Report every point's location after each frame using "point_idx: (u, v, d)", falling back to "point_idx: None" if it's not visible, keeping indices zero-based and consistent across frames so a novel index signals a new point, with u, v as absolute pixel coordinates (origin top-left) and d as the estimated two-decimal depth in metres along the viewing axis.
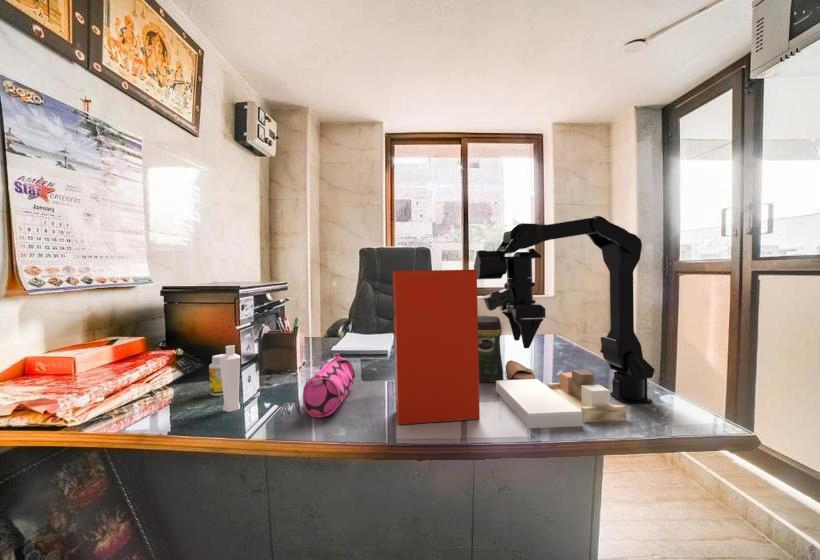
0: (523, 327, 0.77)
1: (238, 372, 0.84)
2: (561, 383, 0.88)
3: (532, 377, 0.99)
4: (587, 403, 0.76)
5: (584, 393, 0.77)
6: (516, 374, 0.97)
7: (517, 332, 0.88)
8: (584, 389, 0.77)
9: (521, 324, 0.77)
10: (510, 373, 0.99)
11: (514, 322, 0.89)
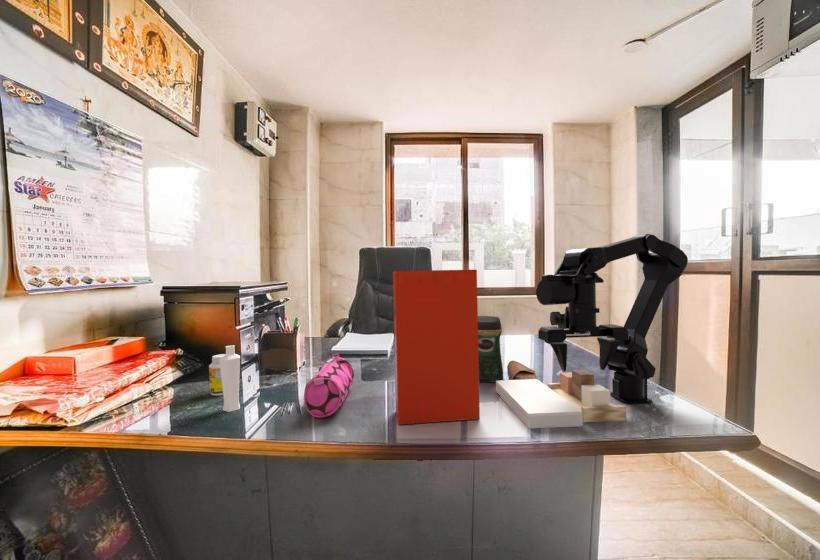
0: (554, 349, 0.82)
1: (238, 372, 0.84)
2: (561, 383, 0.88)
3: (534, 377, 0.99)
4: (587, 403, 0.76)
5: (584, 393, 0.77)
6: (518, 374, 0.97)
7: (602, 360, 0.82)
8: (584, 389, 0.77)
9: (552, 345, 0.83)
10: (512, 373, 0.99)
11: (602, 349, 0.82)
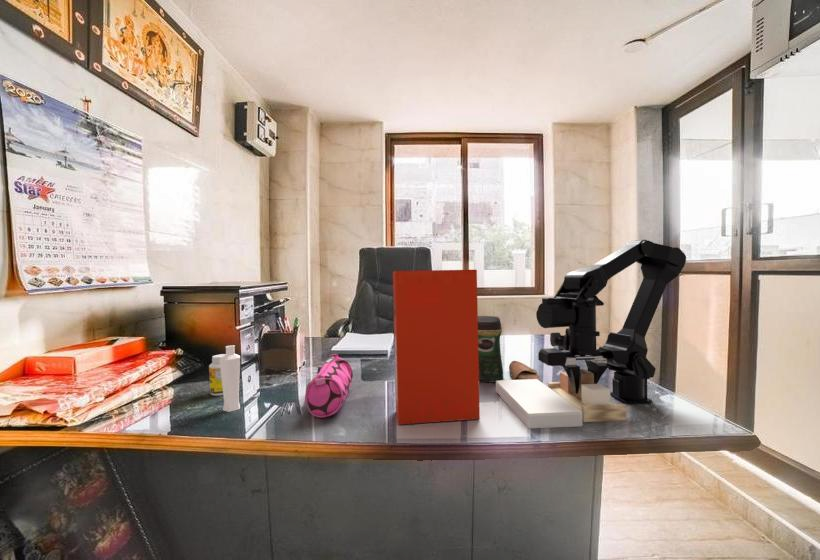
0: (566, 371, 0.82)
1: (238, 372, 0.84)
2: (561, 382, 0.88)
3: (536, 377, 0.99)
4: (587, 402, 0.76)
5: (584, 392, 0.77)
6: (520, 374, 0.97)
7: None
8: (584, 388, 0.77)
9: (564, 367, 0.83)
10: (514, 373, 0.99)
11: None
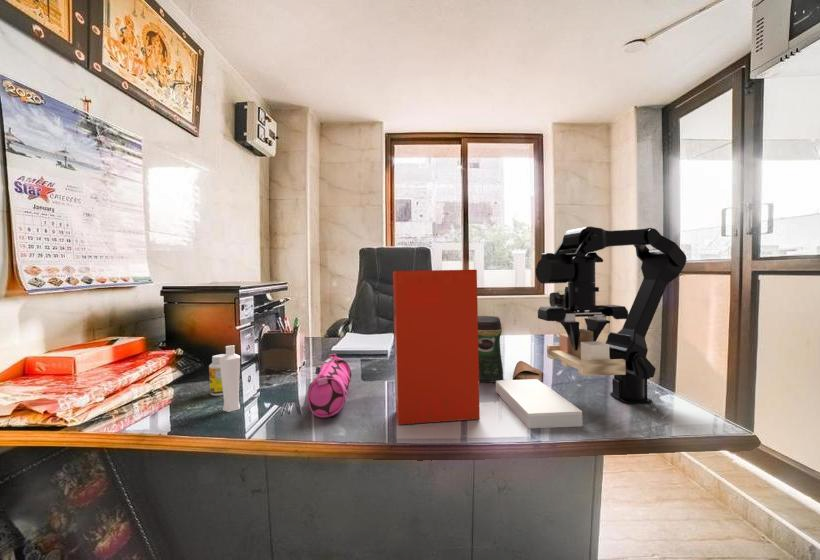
0: (566, 328, 0.82)
1: (238, 372, 0.84)
2: (560, 344, 0.88)
3: (538, 378, 0.98)
4: (586, 358, 0.76)
5: (583, 349, 0.77)
6: (520, 374, 0.97)
7: None
8: (583, 345, 0.77)
9: (563, 325, 0.83)
10: (515, 373, 0.99)
11: (589, 330, 0.82)
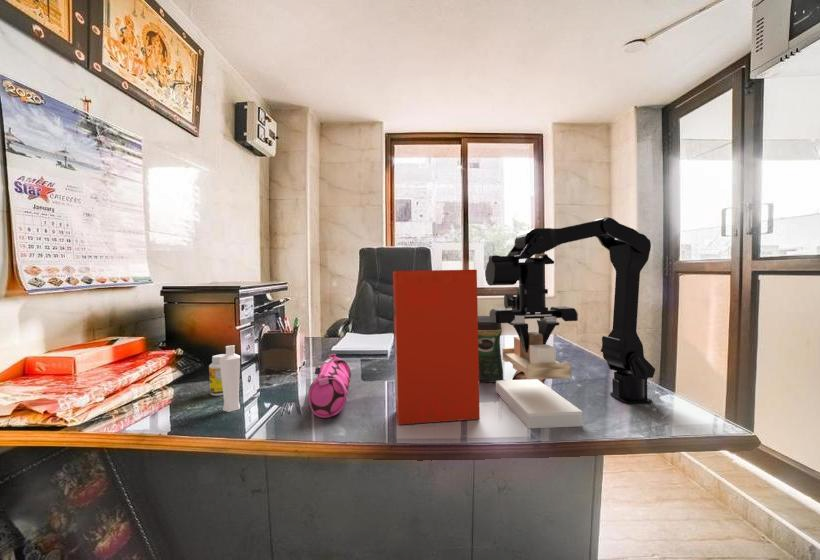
0: (517, 330, 0.82)
1: (238, 372, 0.84)
2: (515, 347, 0.88)
3: None
4: (534, 362, 0.76)
5: (531, 352, 0.77)
6: (520, 374, 0.97)
7: None
8: (531, 348, 0.77)
9: (514, 327, 0.83)
10: (515, 373, 0.99)
11: (540, 332, 0.82)
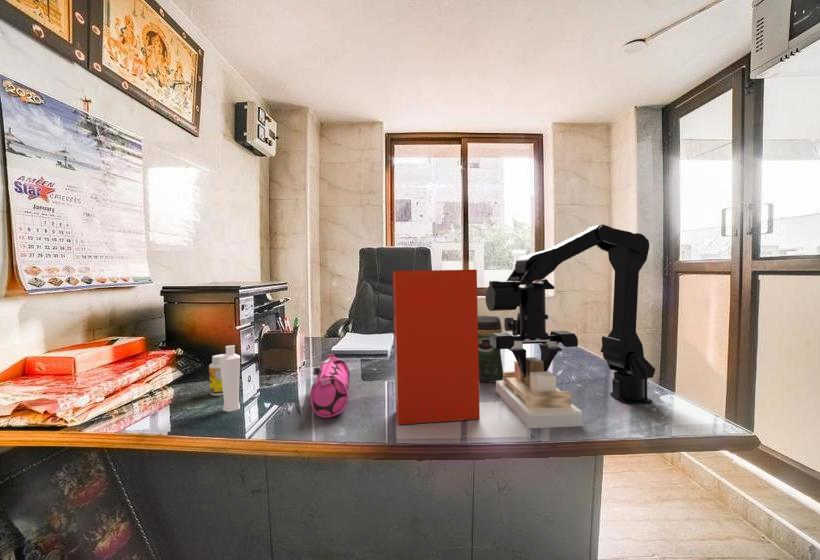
0: (515, 355, 0.82)
1: (238, 372, 0.84)
2: (515, 371, 0.88)
3: None
4: (534, 389, 0.76)
5: (532, 380, 0.77)
6: None
7: None
8: (532, 376, 0.77)
9: (513, 351, 0.83)
10: None
11: (543, 356, 0.82)
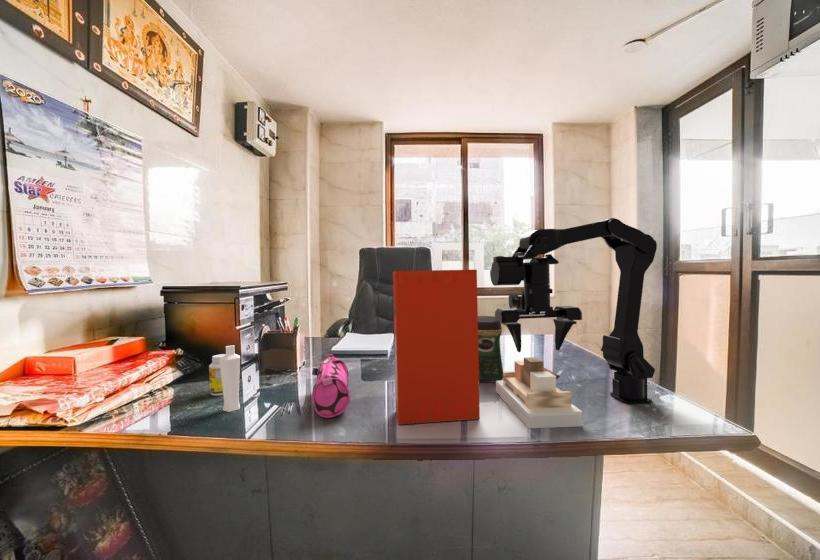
0: (510, 330, 0.83)
1: (238, 372, 0.84)
2: (515, 371, 0.88)
3: None
4: (534, 389, 0.76)
5: (532, 380, 0.77)
6: None
7: (557, 341, 0.83)
8: (532, 376, 0.77)
9: (508, 327, 0.84)
10: None
11: (557, 330, 0.83)
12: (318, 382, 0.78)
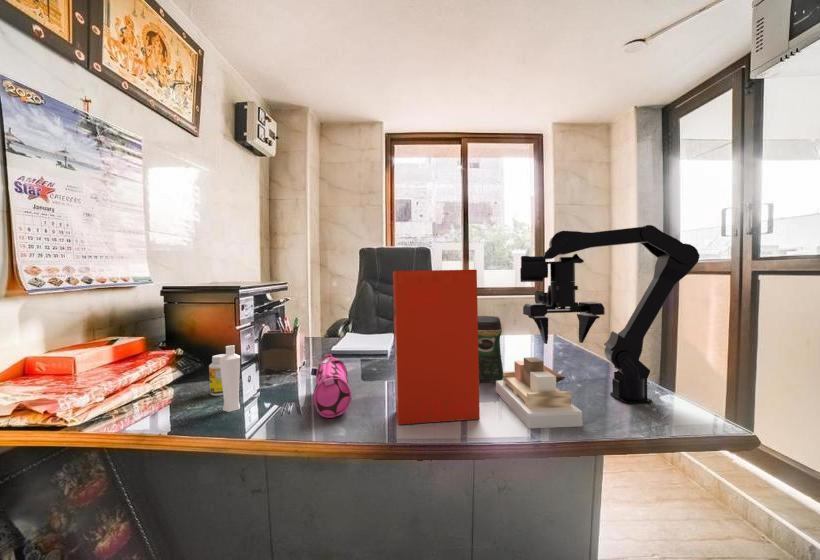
0: (537, 323, 0.90)
1: (238, 372, 0.84)
2: (515, 371, 0.88)
3: None
4: (534, 389, 0.76)
5: (532, 380, 0.77)
6: None
7: (581, 334, 0.90)
8: (532, 376, 0.77)
9: (535, 320, 0.91)
10: None
11: (581, 324, 0.90)
12: (320, 382, 0.77)
